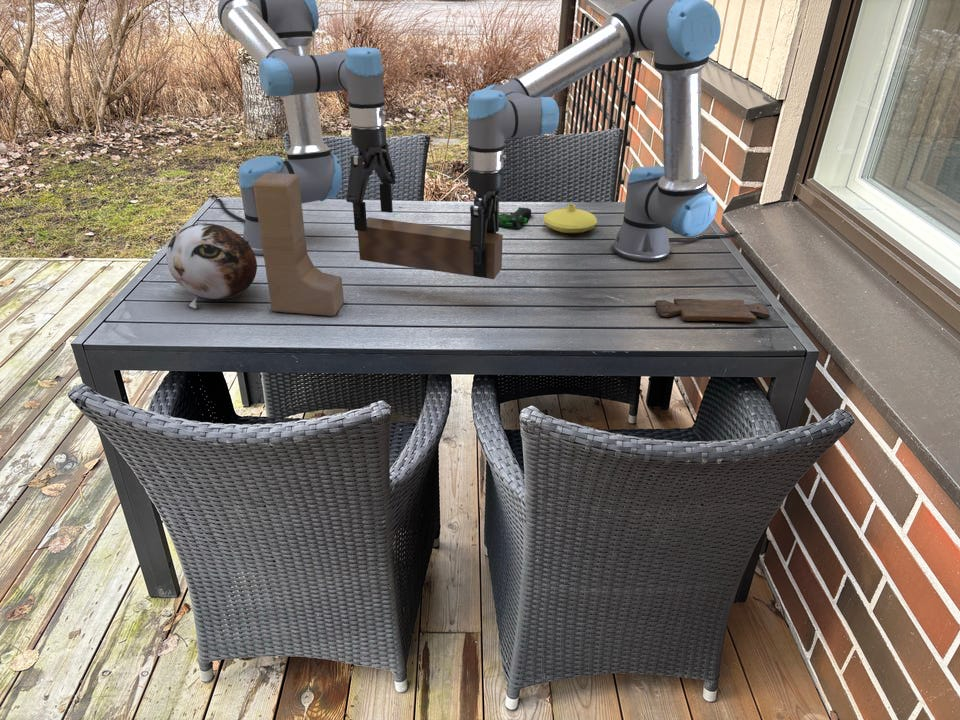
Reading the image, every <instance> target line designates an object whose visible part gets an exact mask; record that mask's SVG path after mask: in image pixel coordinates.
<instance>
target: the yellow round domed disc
mask: <svg viewBox="0 0 960 720" xmlns="http://www.w3.org/2000/svg"><path fill="white" fill-rule="evenodd" d="M543 222H544V225H545V226H546V227H548V228H550V229H551V230H554V231H556V232H559V233H564V234H580V233H584V232H585V233H586V232H587V231H591V230H592V229H594V228H596V226H597V223H598V219H597V217H596V215H595V214H593V213H591V212H589V211H587V210H584V209H578V208H576V205H575V204H571V203H570V204H567V208H557V209H552V210H549V211H548V212H547V213H545V214H544V216H543Z"/></svg>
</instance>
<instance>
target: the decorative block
mask: <svg viewBox="0 0 960 720" xmlns="http://www.w3.org/2000/svg"><path fill="white" fill-rule="evenodd" d="M253 188H254V195H255V201H256V208H257V215H258V221H259V228H260V235H261V241H262V248H263V254H264V255H263V260H264V266H265V273H266V280H267V288H268V293H269V300H270V301H269V302H270V307H271V310H272V312H275V313H276V312H277V313H290V314H303V315H305V314H306V315H315V316H329V317H333V316H336V314H338V312H339V310H340V309H341V307H342V306H343V305H344V302H345V301H344V287H343V286H344V285H343V278H342V276H339V275H335V274H332V273H327V272H323V271H321V270H320V269H318V268H317V267H316V266H315V265H314V264H313V261H312V260H311V258H310V255H309V254H308V249H307V247H308V246H307V239H306V231H305V230H306V229H305V222H304V214H303V203H302V204H301V195H300V187H299V178H298V175H296V174H282V173H265V174H264V175H263V176H261V177H260V178H258V179H257V180H256V181H254V182H253Z"/></svg>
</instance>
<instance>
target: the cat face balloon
mask: <svg viewBox="0 0 960 720" xmlns="http://www.w3.org/2000/svg"><path fill="white" fill-rule="evenodd" d="M248 242H249V241H246V240H245V239H244V238H243V236H242V235H240V234H239V233H238V232H236V231H234V230H233V229H231V228H229V227H226V226H223V225H220V224H215V223H205V222H204V223H195V224H191V225H188V226H186V227H183V228H182V229H180V230H179V231H177V232H176V233H175V234H174V235H173V237H171V239H170V241H169V243H168V245H167V248H166V254H165V260H166V265H167V268H168V271H169V273H170V275H171V276H172V277H173V279H174V280H175V281H176V282H177V284H178V285H180V286H181V287H182V288H183V289H185V290H186V291H187V292H189V293H191V294H194V295H195V298H194V299H193V300H192V302H190V303H189V304H188V306H189V307H191V308H192V309H197V308H198V307H197V298H198V297H201V298H205V299H210V300H226V299H230V298H233V297H236V296H238V295H241V294H242V293H244V292H245V291H247V290H248V289H249V288H250V286H251V285H252V284H253V282H254V280H255V278H256V275H257V271H258V262H257V257H256V254H254V252H253V250H252V248H251V247H250V245H249V244H248Z"/></svg>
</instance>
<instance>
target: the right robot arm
mask: <svg viewBox="0 0 960 720" xmlns="http://www.w3.org/2000/svg"><path fill="white" fill-rule="evenodd" d="M721 24H722V23H721V19H720V15H719V13H718V11H717V9H716V8H715V6H713V5H712V3H711V2H709V1H707V0H635V1H633V2H631V3H629V4H628V5H625V6H624V7H622V8H620V9H618V10H617V11H615V12H613V13H612V14H610V15H609V16H607V17H606V18H605V19H604V21H603V25H601V26H599V27H598V28H596V29H594V30H592V31H591V32H589V33H588V34H586V35H584V36H583V37H581V38H579V39H578V40H576V41H574V42H572V43H571V44H569V45H568V46H565V47H564V48H563V49H561V50H559V51H558V52H556V53H554V54H553V55H551V56H549V57H547V58H545V60H543V61H541V62H540V63H538V64H536V65H534V66H532V67H531V68H529V69H528V70H526V71H524V72H522V73H521V74H519V75H518V76H516V77H514V78H512V79H510V80H509V81H507V82H505V83H504V84H490V85H488V86H486V87H485V88H484V89H477V90H475V91H472V92H471V93H470V94H469V96H468V103H467V134H468V136H467V140H468V141H467V144H468V145H467V146H468V147H467V167H468V171H467V187H468V188H469V189H470V190H472V191H474V192H475V196H474V197H473V204H471V205H470V206H469V214H470V225H469V227H470V228H469V230H470V247H469V249H470V250H474V259H473V276H472V277H474V276H476V277H475V278H481V277H483V279H486V278H485V277H486V249H485V241H486V232H487V233H495V234H500V233H499V230H500V226H499V214H500V210H499V209H500V204H499V203H500V193H501V191H500V190H501V189H502V188H503V187H504V170H503V168H504V164H505V162H504V161H505V160H506V159H507V155H506V154H505V140H506V139H515V138H516V139H517V138H526V137H527V138H528V137H541V136H545V135H549V134H550V135H551V134H553V133H554V132H555V131H556V129H557V128H558V126H559V123H560V109H559V106H558V103H557V101H556V100H555V99H554V98H553V96H555V95H556V94H558V93H559V92H561V91H563V90H565V89H567V88H568V87H570V86H571V85H574V84H575V83H576V82H578V81H579V80H582V79H583V78H585V77H586V76H588V75H590V74H591V73H593V72H595V71H596V70H598V69H599V68H602V67H603V66H605V65H606V64H608V63H610V62H611V61H613V60H616V58H621V59H625V58H627V57H628V56H630V55H631V54H635V53H638V52H644V51H645V52H646V51H649V52H652V53H653V67H654V70H655V71H657V73H659V74H660V75H661V102H662V103H661V106H662V107H661V108H662V109H661V111H662V145H663V147H662V148H663V149H662V150H663V165H662V166H661V165H648V166H646V165H645V166H640V167H639V166H638V167H635V168H633V169H631V170H630V172H629V174H628V179H627V182H626V195H625V202H624V211H623V219H622V220H623V221H622V224H621V226H620V228H619V230H618V232H617V235H616V237H615V239H614V240H613V247H612V251H613V252H614V253H615V254H616V255H618V256H620V257H621V258H623V259H627V260H631V261H635V262H645V263H646V262H647V263H648V262H649V263H650V262H651V263H652V262H659V261H663V260H665V259H667V258H668V257H669V256H670V252H671V244H670V243H692V242H694V241H696V240H699V239H702V238H703V239H704V238H728V237H731V236H733V235H735V234H736V233H735V232H734V230H735V229H732V230H731V231H730V232H726V233H725V232H724V234H725V235H703V234H704V233H703V232H705V231H706V229H708V227H709V226H710V224H712V222H713V220H714V219H715V216H716V215H717V211H718V202H717V199H716V198H715V196H714V195H713V194H712V193H709V192H708V176H707V175H706V174H705V173H703V172H702V71H703V69H704V68H705V67H706V66H707V65H708V64H709V62H710V56H711V54H713V52H714V51H715V50H716V45H717V44H718V43H719V41H720V37H721V31H722V25H721ZM668 231H671V233H673V234H675V235H679V236H681V237H685V238H669V233H668ZM701 233H702V235H703V236H699V237H696V238H693V237H695V236H698V235H701Z"/></svg>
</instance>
